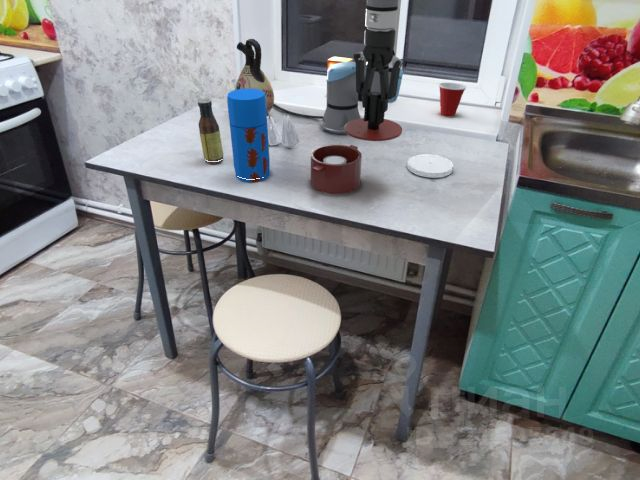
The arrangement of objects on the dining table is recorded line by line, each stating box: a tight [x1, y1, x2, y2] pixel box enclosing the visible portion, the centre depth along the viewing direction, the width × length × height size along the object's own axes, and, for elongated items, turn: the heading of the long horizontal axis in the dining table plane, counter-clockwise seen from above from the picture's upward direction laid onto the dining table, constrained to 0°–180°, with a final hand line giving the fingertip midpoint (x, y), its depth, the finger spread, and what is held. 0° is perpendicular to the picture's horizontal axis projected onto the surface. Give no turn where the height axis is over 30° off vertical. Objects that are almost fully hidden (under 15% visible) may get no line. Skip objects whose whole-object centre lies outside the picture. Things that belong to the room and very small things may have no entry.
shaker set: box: [267, 115, 301, 149], centre depth 163 cm, size 12×4×11 cm, turn 67°
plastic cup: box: [438, 82, 467, 118], centre depth 190 cm, size 11×11×12 cm
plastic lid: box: [406, 153, 454, 179], centre depth 149 cm, size 14×14×2 cm
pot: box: [310, 144, 363, 195], centre depth 140 cm, size 15×20×10 cm
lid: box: [344, 91, 403, 142], centre depth 128 cm, size 16×16×11 cm
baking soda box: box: [326, 56, 355, 72], centre depth 208 cm, size 10×6×16 cm
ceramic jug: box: [234, 38, 275, 118], centre depth 181 cm, size 17×15×30 cm
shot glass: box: [323, 156, 347, 164], centre depth 140 cm, size 7×7×7 cm
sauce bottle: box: [197, 98, 224, 165], centre depth 149 cm, size 6×6×20 cm
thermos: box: [226, 89, 271, 184], centre depth 140 cm, size 11×11×25 cm
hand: (373, 121), depth 129 cm, fingers closed on lid, 3 cm apart
